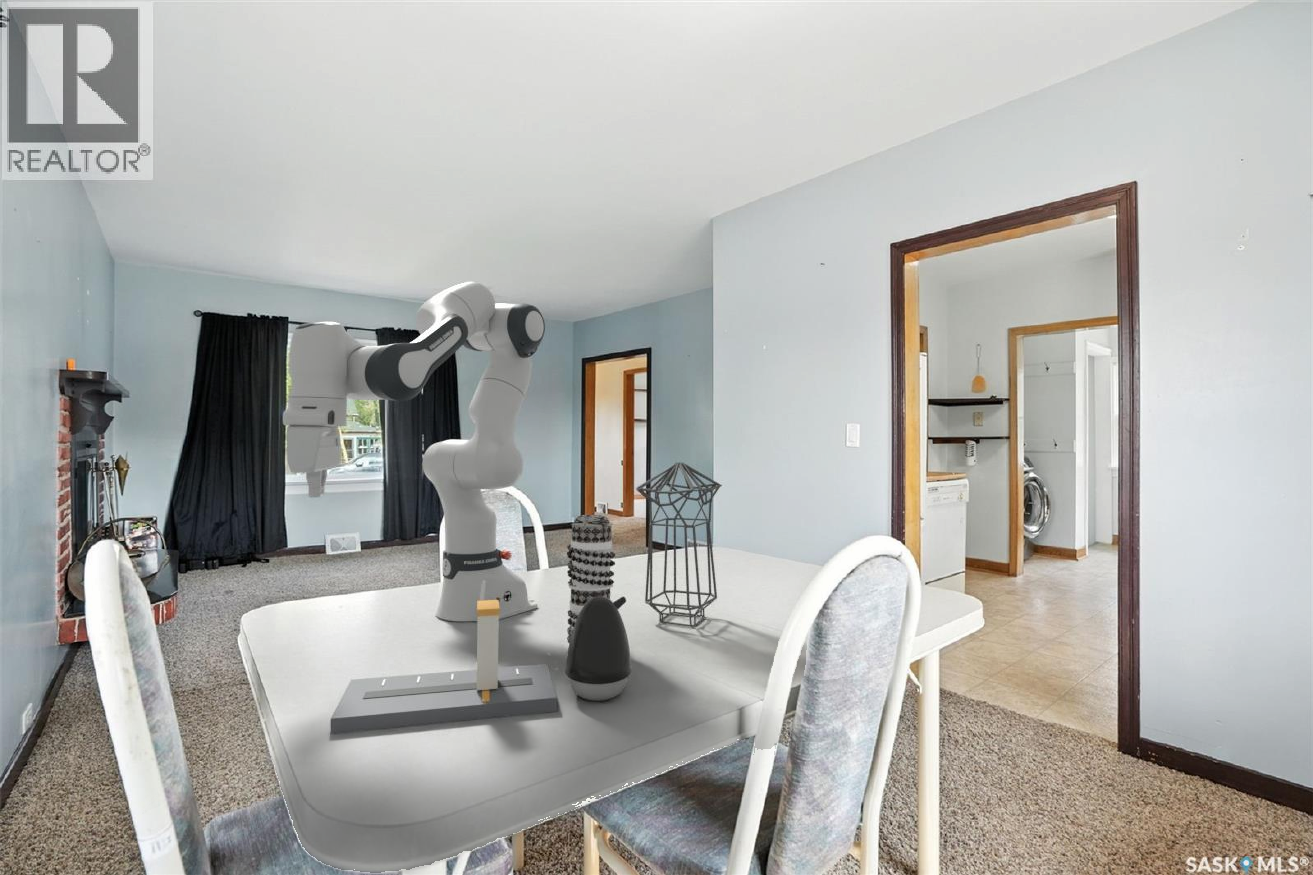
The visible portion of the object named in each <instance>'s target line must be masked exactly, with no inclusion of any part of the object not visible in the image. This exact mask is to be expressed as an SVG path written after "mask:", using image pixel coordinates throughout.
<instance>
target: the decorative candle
mask: <svg viewBox="0 0 1313 875" xmlns="http://www.w3.org/2000/svg"><path fill="white" fill-rule="evenodd" d="M570 525H571V539H570V544H569V545H567V546H566V548H567V550H568V551H567V552H566V555H567V558H568V559H570V560H568V562H567V567H568V569H569V570H567V577H568V578H569V580H568V581H567V584H568V588H569V589H570V601H569V610H568V611H567V614H568V615H567V616H568V617H569V618H568V619H567V624H568V625H569V626H568V627H567V630H566V631H567V637H566V641H567V643H568V644H567V648H568V647H569V642H570V638H571V635H572V631H573V628H574V625H575V622H576V620H577V617H578V615H579V613H580V611H581V609H582V608H583V606H584V605H585V603H586V602H587V601H588V600H590V599H592V598H594V597H599V596H601V597H606V598H608V599H610V600H611V588H612V587H614V583H615V581H614V580H613V579H612V578H613V576H614V575H615V573H614V571H612V570H611V568H612V567H613V566H615V565H616V562H615V561H614V560H613V558H615V557H616V553H614V552H613V551H611V549H612V548H613V540H612V526H614V523H611V522H610V520H609V518H608V517H607V516H605V515H603V514H583V515H578V516H577V517H576V518H575V520H574V521H573V522H572V523H570Z"/></svg>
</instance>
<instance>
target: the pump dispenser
mask: <svg viewBox="0 0 1313 875" xmlns="http://www.w3.org/2000/svg"><path fill="white" fill-rule="evenodd" d="M626 602H627V598H626V597H624V596H621V597H619V598H618V599H616V600H615V601H612V600H611V598H610V599H608V598H606V597H601V596H599V597H594V598H592V599H590V600H588V601H587V602H586V603H585V605H584V606H583V608H582V609H581V611H580V613H579V615H578V617H577V620H576V622H575V625H574V628H573V631H572V635H571V638H570V642H569V643H568V644H569V647H568V646H567V652H566V653H567V655H566V660H565V675H566V677H567V678H568V683H569V684H570V688H571V689H572V690H573V692H574V693H575V694H576V695H578V696H579V697H581V698H583V699H585V700H587V701H593V702H600V701H608V700H611V699H612V698H615V697H617V696H618V695H619V694H620V693H621V692H622V691H623V690H624V689H625V687H626V684H627V683H628V679H629V677H630V675H631V673H632V659H631V658H632V657H631V649H630V644H629V639H628V635H627V631H626V628H625V624H624V621H623V618H622V615H621V614H620V611H619V609H620V608H621V607H622V606H624V605H625V604H626Z"/></svg>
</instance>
